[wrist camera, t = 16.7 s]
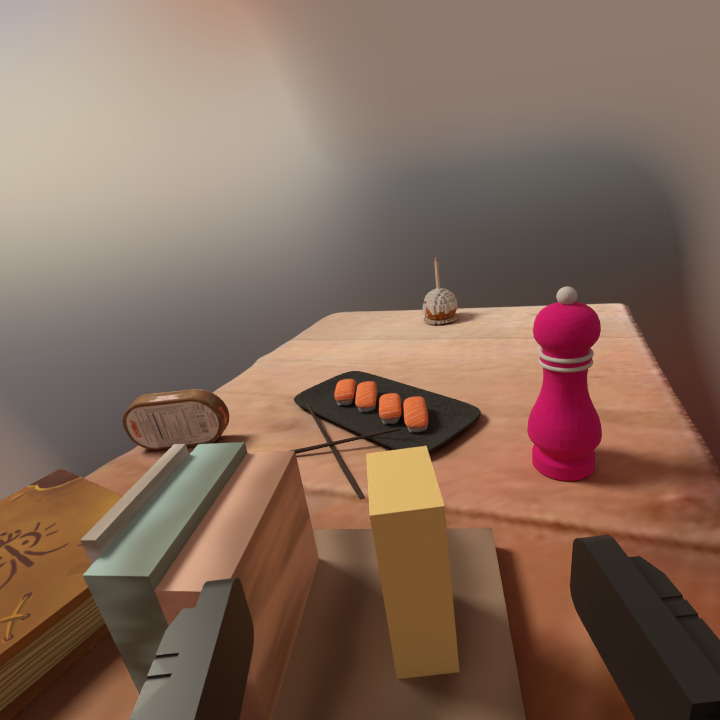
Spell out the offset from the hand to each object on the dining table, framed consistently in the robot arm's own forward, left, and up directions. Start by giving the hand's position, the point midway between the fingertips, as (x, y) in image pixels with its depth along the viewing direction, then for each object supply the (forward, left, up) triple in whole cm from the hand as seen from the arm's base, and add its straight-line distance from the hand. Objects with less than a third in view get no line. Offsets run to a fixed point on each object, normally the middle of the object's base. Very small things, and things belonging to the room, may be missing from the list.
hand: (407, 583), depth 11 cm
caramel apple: (+1, +95, -22) cm, 98 cm away
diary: (-39, +18, -23) cm, 48 cm away
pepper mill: (+13, +36, -22) cm, 44 cm away
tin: (-38, +44, -22) cm, 62 cm away
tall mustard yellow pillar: (-2, +14, -20) cm, 25 cm away
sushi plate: (-14, +45, -23) cm, 52 cm away
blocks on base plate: (-8, +14, -22) cm, 27 cm away
